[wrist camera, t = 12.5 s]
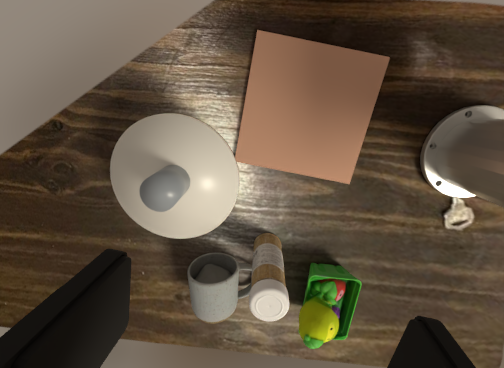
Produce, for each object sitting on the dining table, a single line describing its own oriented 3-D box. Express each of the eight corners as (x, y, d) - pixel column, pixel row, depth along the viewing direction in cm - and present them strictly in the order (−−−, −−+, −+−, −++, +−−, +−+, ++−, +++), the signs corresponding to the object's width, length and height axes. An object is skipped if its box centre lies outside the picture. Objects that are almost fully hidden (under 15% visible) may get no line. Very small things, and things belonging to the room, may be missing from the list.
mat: (388, 57, 33) (390, 57, 32) (348, 182, 38) (349, 183, 37) (257, 30, 32) (257, 29, 32) (234, 160, 38) (234, 161, 37)
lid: (250, 127, 30) (247, 132, 25) (228, 245, 35) (221, 272, 29) (115, 101, 30) (81, 100, 24) (112, 223, 35) (83, 246, 29)
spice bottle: (270, 261, 42) (274, 329, 29) (247, 247, 42) (240, 310, 29) (287, 241, 41) (298, 303, 28) (263, 226, 40) (263, 282, 28)
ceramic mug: (198, 292, 45) (186, 329, 37) (194, 251, 42) (180, 282, 35) (258, 293, 44) (258, 330, 37) (258, 251, 42) (258, 282, 35)
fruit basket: (337, 315, 45) (361, 382, 34) (287, 310, 45) (294, 374, 34) (351, 259, 42) (382, 314, 31) (296, 253, 42) (308, 305, 31)
